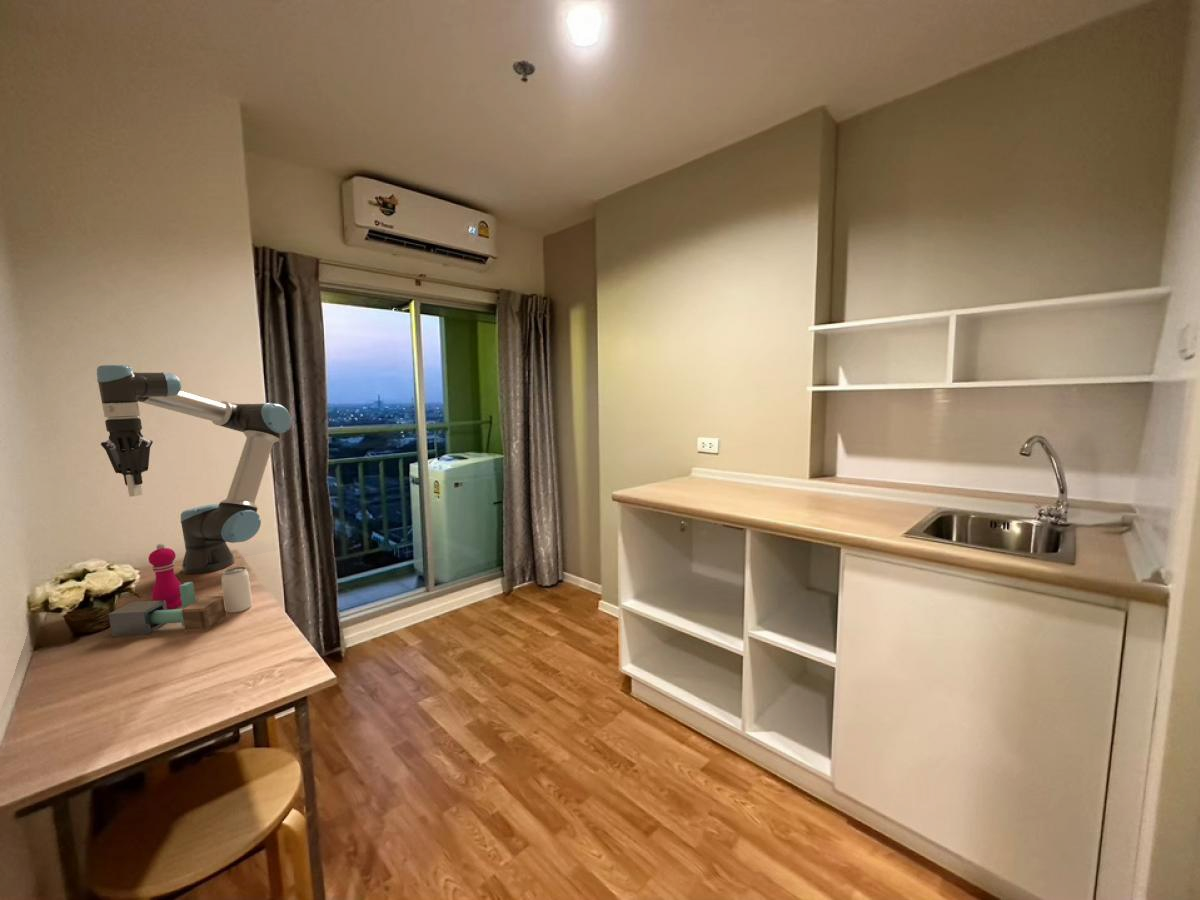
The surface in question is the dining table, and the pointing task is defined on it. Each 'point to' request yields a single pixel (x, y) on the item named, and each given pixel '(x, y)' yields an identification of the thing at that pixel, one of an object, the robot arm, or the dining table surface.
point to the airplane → (174, 614)
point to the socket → (204, 614)
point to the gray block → (135, 618)
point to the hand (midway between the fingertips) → (136, 495)
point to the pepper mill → (165, 577)
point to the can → (236, 589)
